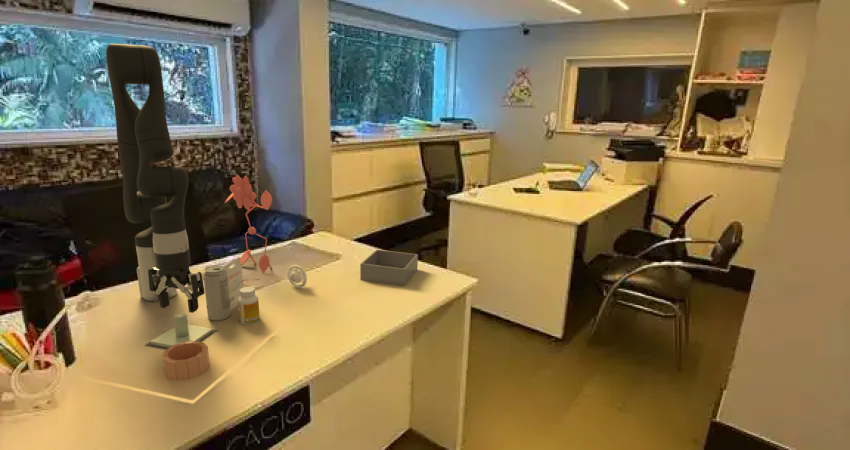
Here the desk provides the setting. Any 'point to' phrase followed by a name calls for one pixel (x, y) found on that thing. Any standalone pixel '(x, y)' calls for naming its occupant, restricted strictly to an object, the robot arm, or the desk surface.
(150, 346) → the mat
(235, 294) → the ink cartridge box
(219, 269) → the energy drink can
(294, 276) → the white round piece
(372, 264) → the tray
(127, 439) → the desk surface
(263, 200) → the pink flower figurine
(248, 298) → the supplement bottle
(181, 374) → the bowl
